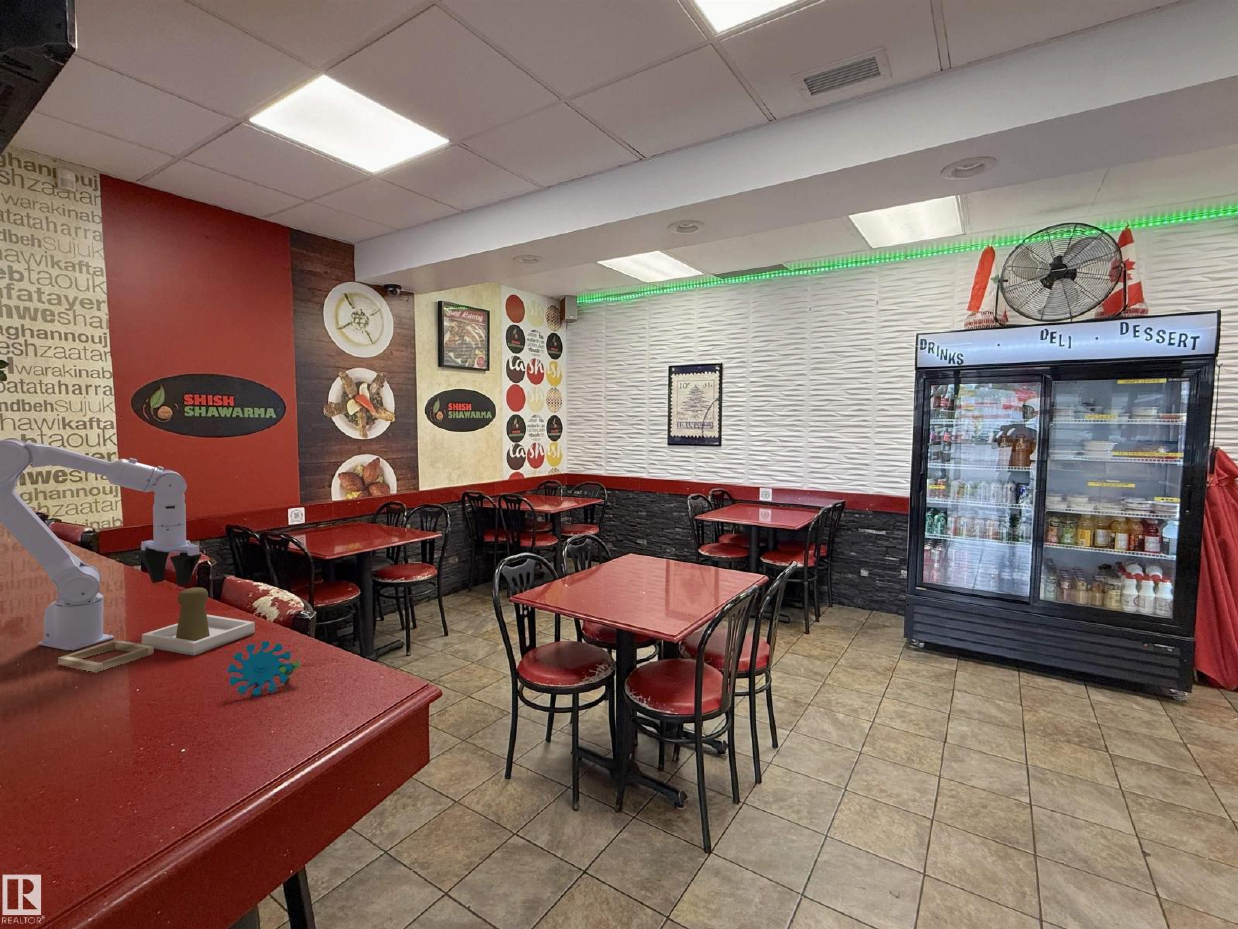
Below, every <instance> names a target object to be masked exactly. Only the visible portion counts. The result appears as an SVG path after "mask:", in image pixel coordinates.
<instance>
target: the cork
mask: <svg viewBox="0 0 1238 929" xmlns="http://www.w3.org/2000/svg"><path fill="white" fill-rule="evenodd" d="M208 598H209V593H208V590H207V589H206V588H204V587H190V588H186V589H185V588H184V589H182V590H181V591H179V593H178V596H177V602H178V604H179V605H180V611H179V616H178V621H177V622H178V627H177V633H176V638H179V639H185V640H191V641H197V640H200V639H203V638H206V637H209V636H210V633H209V627H208V620H207V615H208V614H207V608H206V603H207V601H208Z"/></svg>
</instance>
